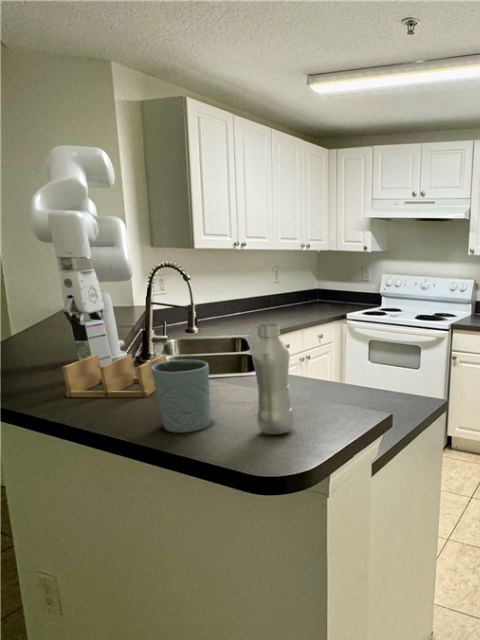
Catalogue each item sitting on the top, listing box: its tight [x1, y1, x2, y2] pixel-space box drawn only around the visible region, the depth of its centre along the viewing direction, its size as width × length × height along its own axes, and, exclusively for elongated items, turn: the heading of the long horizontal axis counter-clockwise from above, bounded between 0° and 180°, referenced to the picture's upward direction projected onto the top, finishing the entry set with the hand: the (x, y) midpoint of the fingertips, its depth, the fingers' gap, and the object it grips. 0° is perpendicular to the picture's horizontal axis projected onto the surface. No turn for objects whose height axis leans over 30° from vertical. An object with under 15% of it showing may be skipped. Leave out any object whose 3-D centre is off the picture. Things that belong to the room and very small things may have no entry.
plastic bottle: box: [251, 323, 295, 435], centre depth 99 cm, size 6×7×20 cm
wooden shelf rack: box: [61, 353, 167, 398], centre depth 130 cm, size 14×18×7 cm
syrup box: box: [69, 320, 112, 367], centre depth 140 cm, size 6×6×14 cm
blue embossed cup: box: [151, 359, 212, 434], centre depth 104 cm, size 10×10×12 cm
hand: (90, 337), depth 139 cm, fingers closed on syrup box, 7 cm apart
